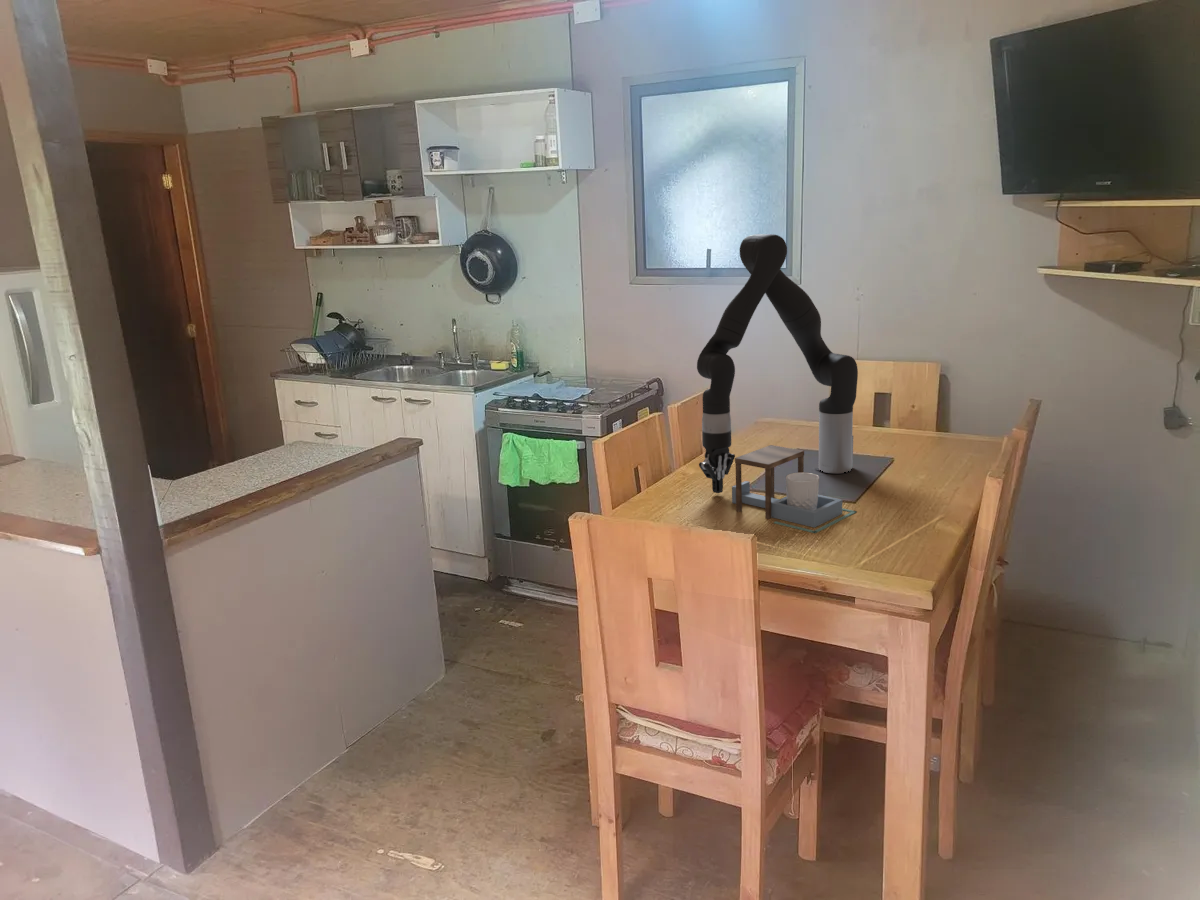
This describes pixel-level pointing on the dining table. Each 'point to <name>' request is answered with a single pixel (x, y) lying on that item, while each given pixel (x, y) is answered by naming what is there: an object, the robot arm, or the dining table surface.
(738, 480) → the small brown wooden table
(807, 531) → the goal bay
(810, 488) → the white cup
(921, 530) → the dining table surface
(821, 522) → the sled frame
